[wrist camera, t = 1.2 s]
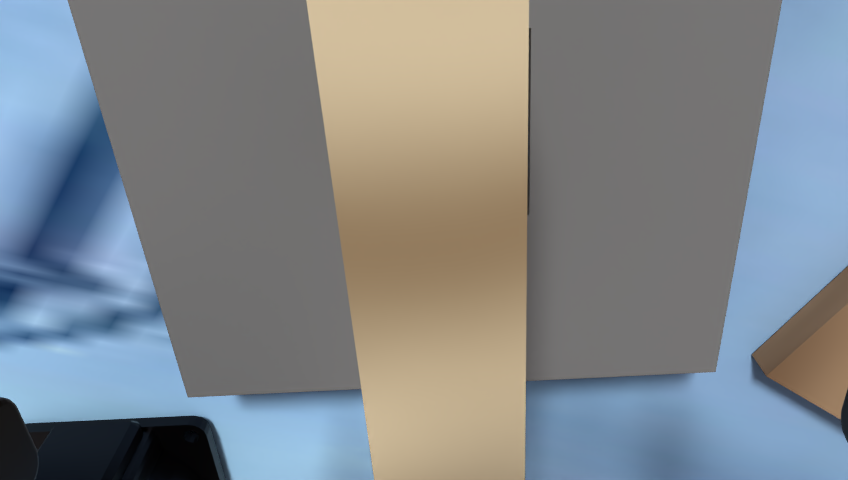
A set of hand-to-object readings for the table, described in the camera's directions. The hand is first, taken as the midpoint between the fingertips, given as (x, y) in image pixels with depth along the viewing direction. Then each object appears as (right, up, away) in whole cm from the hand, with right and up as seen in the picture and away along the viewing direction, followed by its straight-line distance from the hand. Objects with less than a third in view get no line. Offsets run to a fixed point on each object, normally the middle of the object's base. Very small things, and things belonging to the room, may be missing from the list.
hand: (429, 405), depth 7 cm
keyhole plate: (0, +5, +10) cm, 11 cm away
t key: (0, +5, +10) cm, 11 cm away
